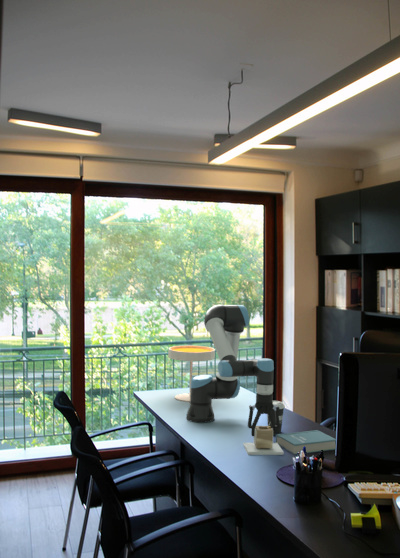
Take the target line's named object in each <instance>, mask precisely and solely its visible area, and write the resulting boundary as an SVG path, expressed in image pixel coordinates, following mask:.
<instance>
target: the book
mask: <svg viewBox="0 0 400 558" xmlns="http://www.w3.org/2000/svg"><path fill="white" fill-rule="evenodd" d="M335 441H336V438H334V437H332V436H331V435H328V434H327V433H325V432H322V431H320V430H319V429H316V430H315V429H314V430H307V431H296V432H287V433H280V434H275V443H278V444H279V446H280V448H283V449H284V450H285V451H288V452H289V453H290V454H293V455H294V454H295V455H298V454H297V452H299V451H301V450H302V449H303V447H304V446H305V447H306V452H307V453H306V454H308V453H311V454H312V453H317V452H318V453H319V452H325V451H334V450H336V449H335V448H336V444H335ZM336 442H337V441H336ZM321 450H323V451H321Z"/></svg>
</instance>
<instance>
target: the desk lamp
mask: <svg viewBox="0 0 400 558" xmlns="http://www.w3.org/2000/svg"><path fill="white" fill-rule="evenodd" d="M167 353H168V355H167V358H169V359H170V360H176V361H183V362H190V365H189V368H190V369H189V393H188V392H187V393H179V394H176V395H175V396H174V399H175V400H177V401H179V402H185V403H186V402H187V403H190V394H191V387H190V386H191V379H192V378H193V362H207V361H213V360H214V359H215V357H216V349H215V347H210V346H205V345H174V346H170V347H168V352H167Z"/></svg>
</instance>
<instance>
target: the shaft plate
mask: <svg viewBox="0 0 400 558" xmlns="http://www.w3.org/2000/svg"><path fill="white" fill-rule="evenodd" d="M242 444H243V448H244V450H245V452H246V454H247V455H248V456H279V455H280V456H283V455H285V454H284V450H283V449H282V447H281V446H279V444H278V443H276V442H273V444H272V448H256V446H255V444H254V443H253V442H243V443H242Z"/></svg>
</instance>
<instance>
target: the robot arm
mask: <svg viewBox="0 0 400 558" xmlns="http://www.w3.org/2000/svg"><path fill="white" fill-rule="evenodd" d="M203 323H204V324H203V325H204V328H205V330H206V331H207V332H209V335H210V337H211V338H210V339H211V341H212V343H213V346H214V349H215V352H216V353H217V356H218V359H219V362H218V365H217V372H216V374H215V377H213V375H211V374H198V375H196V376H194V377H193V376H192V379H191V386H190V385H189V388H190V387H191V394H190V402H189V407H188V410H187V414H186V420H187V421H189V422H193V423H210V422H213V421H215V413H214V412H215V411H214V409H213V406H212V405H213V404H212V403H213V402H212V401H213V400H224V399H225V400H229V399H235V398H237V397H238V395H239V393H240V390H241V385H240V384H241V382H240V379H239V377H256V386H255V387H256V390H255V391H256V394H255V395H256V396H255V404H254V405H249V406H248V409H249V414H248V420H247V428H248V429H251V432H250V433H251V437H253V442H252V443H254V444H256V428H255V427H256V426H258V422H259V419H260V417H261V415H267V414H268V417H269V420H270V422H271V425H272V428H271V429H272V430H273V439H272V444H273V443H274V437H275V438H276V434H275V432H276V429H277V428H280V424H279V413H278V412H279V407H278V406H275V405H273V401H274V400H273V399H274V394H273V392H274V372H275V371H274V369H275V367H274V363H275V362H274V360H273V359H271V358H268V357H267V358H264V357H263V358H250V359H240V360H238V355H239V346H240V337H241V334H242V333H244V332H245V331H244V330H245V328H247V327H248V326H249V325H250V315H249V311H248V309H247V307H246V306H245V305H242V304H214V305H213V306H212V307H210V308H209V309H207V311H206V313H205V316H204V320H203ZM273 408H274V410H275V420H276V425H275V424H274V421H273V419H272V416H271V412H270V411H271V410H272V409H273ZM255 409H256V410H257V411H256V413H255V414H256V415H255V417H254V419H253V416H254V411H255Z"/></svg>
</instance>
